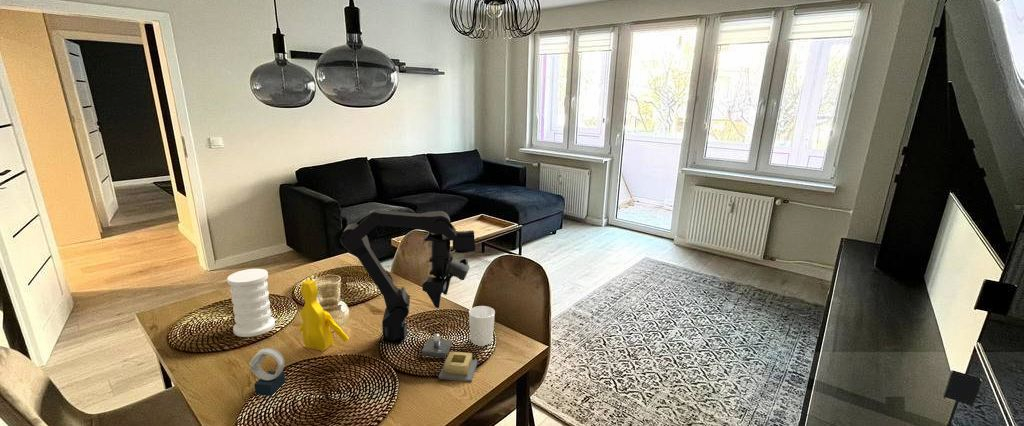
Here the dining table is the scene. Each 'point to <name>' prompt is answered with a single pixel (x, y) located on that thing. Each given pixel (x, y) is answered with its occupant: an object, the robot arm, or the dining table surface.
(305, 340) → the figure statuette
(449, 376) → the felt coaster
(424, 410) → the dining table surface
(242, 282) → the decorative container
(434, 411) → the dining table surface
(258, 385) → the white ring sculpture
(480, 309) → the white cup
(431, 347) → the grey peg base
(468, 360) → the square hollow block
